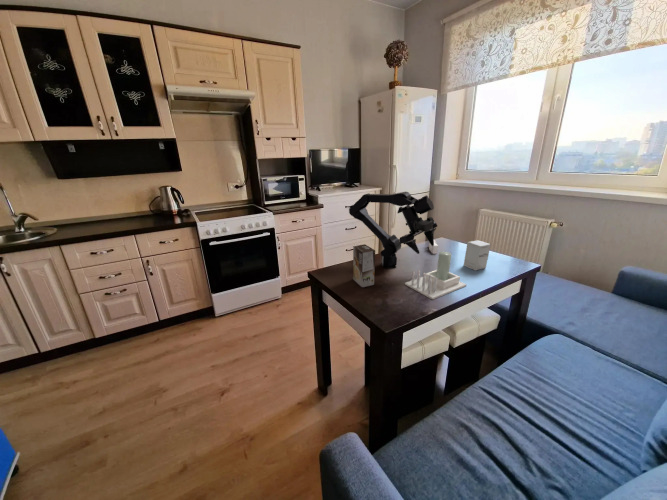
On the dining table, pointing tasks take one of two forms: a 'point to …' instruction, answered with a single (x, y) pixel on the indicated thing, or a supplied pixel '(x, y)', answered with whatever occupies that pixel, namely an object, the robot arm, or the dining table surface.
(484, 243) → the supplement box
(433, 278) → the dish drying rack
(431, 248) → the napkin holder
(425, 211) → the robot arm
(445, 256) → the sage green domed cylinder
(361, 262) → the coffee box
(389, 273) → the dining table surface
